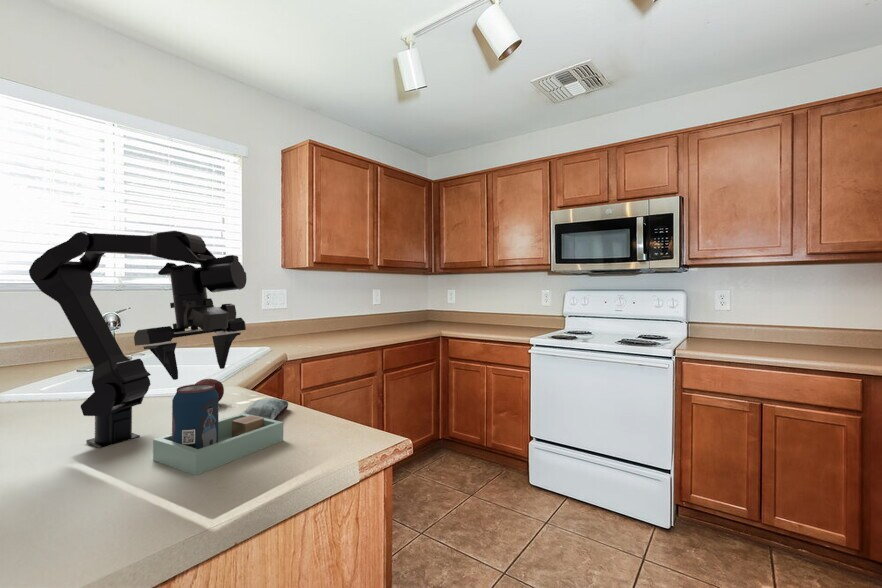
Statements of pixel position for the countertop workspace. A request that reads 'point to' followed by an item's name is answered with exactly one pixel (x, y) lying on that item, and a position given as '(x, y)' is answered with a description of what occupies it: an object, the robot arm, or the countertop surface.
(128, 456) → the countertop surface
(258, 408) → the packaged food
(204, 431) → the soda can
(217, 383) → the potato
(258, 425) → the walnut block
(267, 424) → the tray
